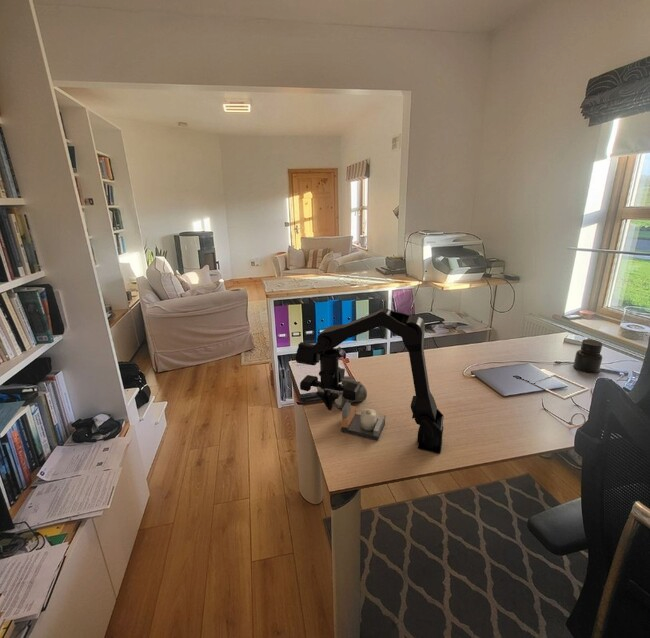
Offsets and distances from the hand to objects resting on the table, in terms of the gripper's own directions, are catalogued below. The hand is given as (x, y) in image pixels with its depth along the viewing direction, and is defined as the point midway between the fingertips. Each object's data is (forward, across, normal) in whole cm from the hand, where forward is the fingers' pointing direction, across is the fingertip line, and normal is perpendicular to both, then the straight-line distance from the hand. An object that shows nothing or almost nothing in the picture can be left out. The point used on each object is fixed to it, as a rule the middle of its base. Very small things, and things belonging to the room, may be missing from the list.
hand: (330, 409), depth 114 cm
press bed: (+5, -11, -2) cm, 12 cm away
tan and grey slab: (+4, -6, -1) cm, 7 cm away
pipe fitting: (+6, -2, -14) cm, 15 cm away
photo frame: (+6, -72, -55) cm, 91 cm away
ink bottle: (+6, -87, -74) cm, 114 cm away
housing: (+4, -12, -2) cm, 13 cm away
